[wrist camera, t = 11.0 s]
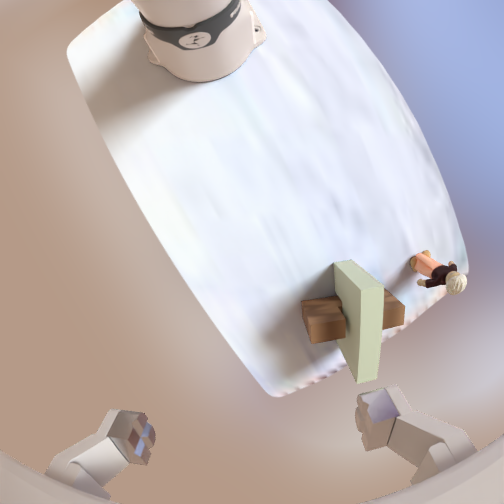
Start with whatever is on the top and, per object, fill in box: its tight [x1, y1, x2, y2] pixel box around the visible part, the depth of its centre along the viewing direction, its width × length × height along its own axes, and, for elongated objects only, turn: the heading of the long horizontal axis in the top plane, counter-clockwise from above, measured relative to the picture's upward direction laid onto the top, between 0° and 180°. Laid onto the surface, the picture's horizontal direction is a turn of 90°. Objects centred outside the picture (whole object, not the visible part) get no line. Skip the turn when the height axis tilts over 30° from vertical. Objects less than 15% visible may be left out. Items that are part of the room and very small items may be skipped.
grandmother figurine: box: [410, 250, 467, 295], centre depth 34 cm, size 8×4×13 cm, turn 125°
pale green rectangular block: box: [334, 260, 384, 384], centre depth 36 cm, size 14×3×12 cm, turn 8°
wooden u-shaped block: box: [301, 288, 405, 344], centre depth 38 cm, size 14×3×8 cm, turn 98°
